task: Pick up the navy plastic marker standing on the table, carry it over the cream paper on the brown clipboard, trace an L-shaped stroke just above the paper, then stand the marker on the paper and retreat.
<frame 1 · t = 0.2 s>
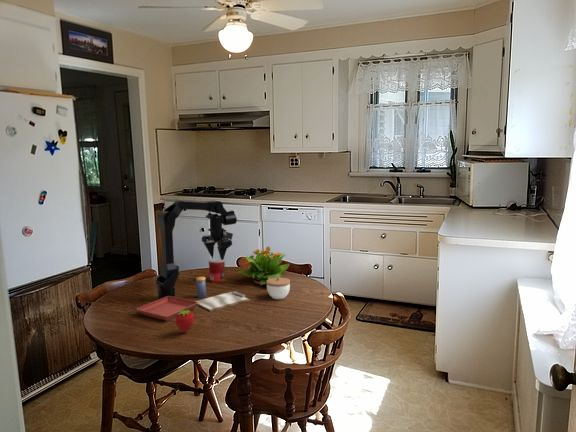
hand: (217, 258, 216), 14 cm above the table, fingers open, 9 cm apart
clipboard: (221, 301, 196), on the table
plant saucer: (168, 313, 185), on the table
strawberry: (186, 333, 163), on the table
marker: (201, 296, 203), on the table
lidded jar: (278, 297, 200), on the table
canned food: (217, 281, 228), on the table
potted flower: (262, 281, 225), on the table
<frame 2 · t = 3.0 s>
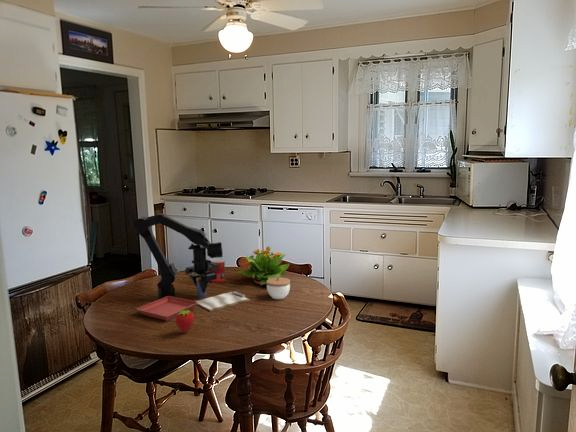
hand: (201, 291, 202), 3 cm above the table, fingers closed on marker, 4 cm apart
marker: (201, 296, 203), on the table, touching gripper
everything else where it was.
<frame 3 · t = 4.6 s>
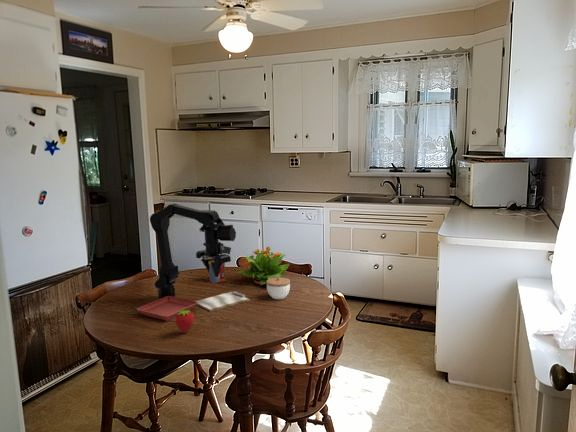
hand: (214, 275, 191), 13 cm above the table, fingers closed on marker, 4 cm apart
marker: (214, 281, 192), point 10 cm above the table, touching gripper
everything else where it was.
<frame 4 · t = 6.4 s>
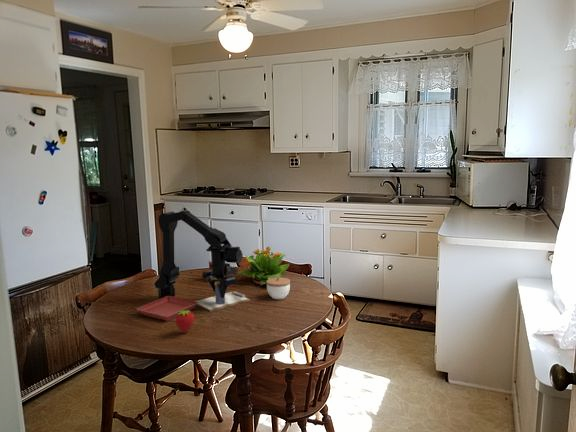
hand: (220, 296, 191), 4 cm above the table, fingers closed on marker, 4 cm apart
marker: (220, 302, 192), point 1 cm above the table, touching gripper
everything else where it was.
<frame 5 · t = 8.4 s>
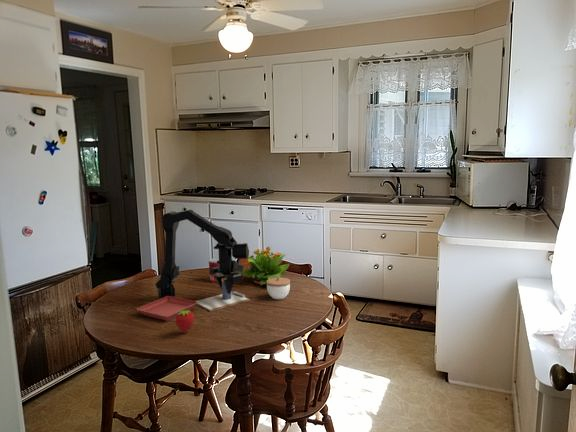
hand: (226, 292, 197), 3 cm above the table, fingers closed on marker, 4 cm apart
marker: (226, 298, 198), point 1 cm above the table, touching gripper
everything else where it was.
when the fingers open (4 cm above the table, at t = 10.0 s): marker stays where it is, resting on clipboard.
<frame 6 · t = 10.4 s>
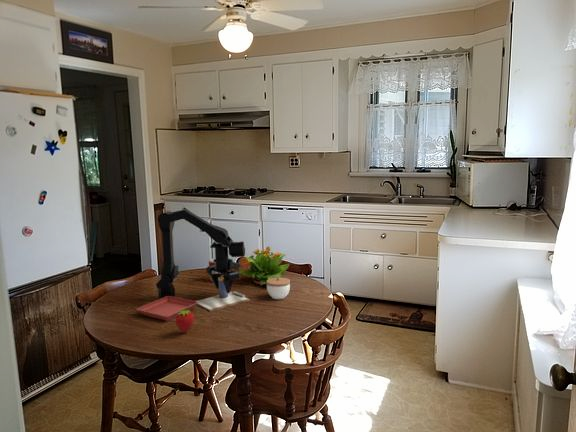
hand: (223, 290, 199), 4 cm above the table, fingers open, 8 cm apart
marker: (223, 296, 200), point 1 cm above the table, touching clipboard
everything else where it was.
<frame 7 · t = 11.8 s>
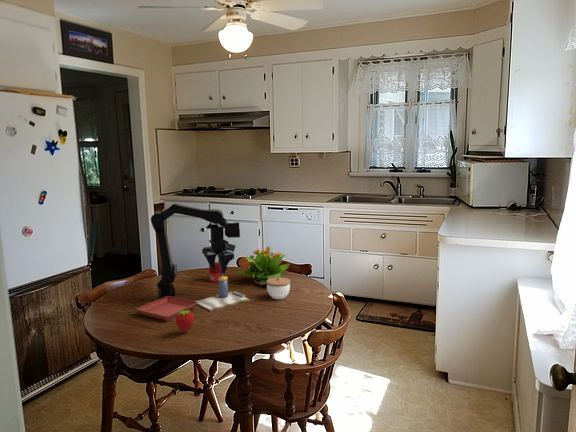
hand: (218, 271, 201), 12 cm above the table, fingers open, 9 cm apart
nothing on the table moved.
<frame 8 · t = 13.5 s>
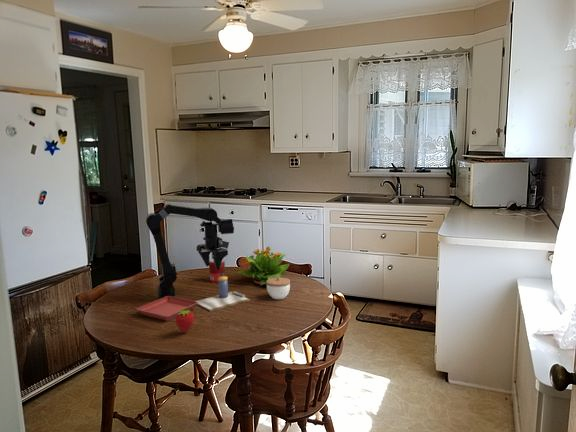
hand: (212, 268, 206), 12 cm above the table, fingers open, 9 cm apart
nothing on the table moved.
at the end: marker inside the target area on the clipboard (4.5 cm from its centre), point 0.8 cm above the clipboard's base; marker tilted 0°; the gripper is holding nothing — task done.
